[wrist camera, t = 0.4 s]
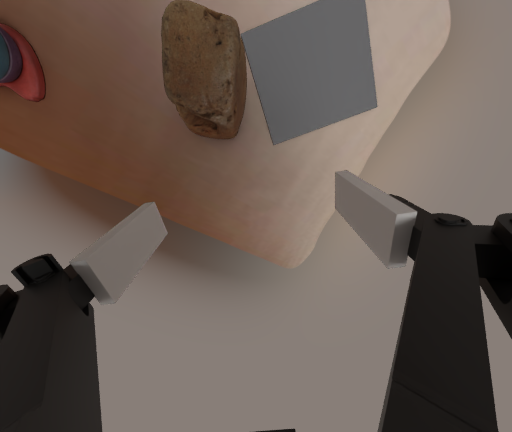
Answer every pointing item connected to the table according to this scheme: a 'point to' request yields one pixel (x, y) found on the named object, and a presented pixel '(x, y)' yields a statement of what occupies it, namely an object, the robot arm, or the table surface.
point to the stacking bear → (20, 65)
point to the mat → (312, 67)
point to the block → (204, 68)
